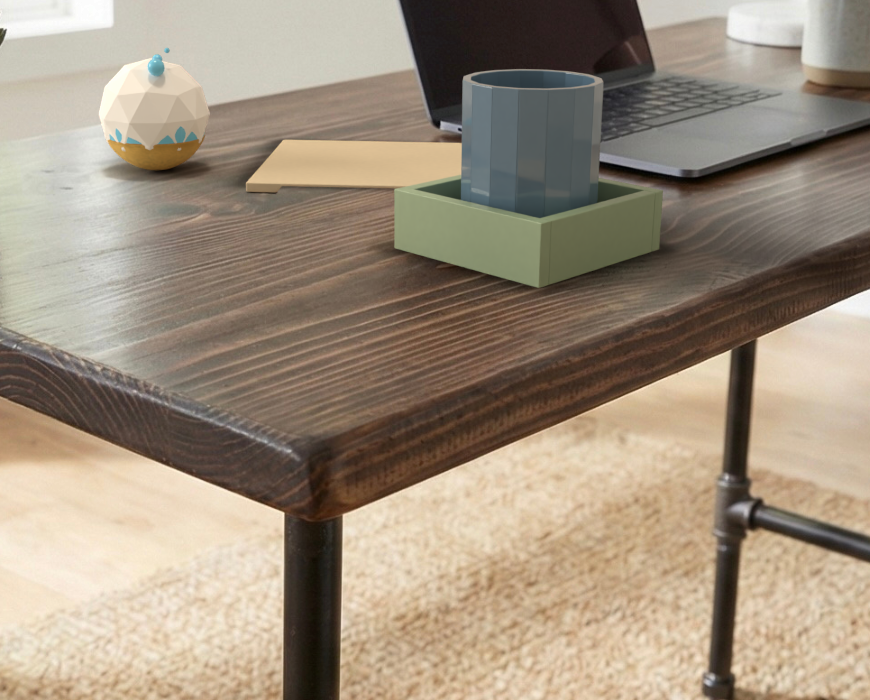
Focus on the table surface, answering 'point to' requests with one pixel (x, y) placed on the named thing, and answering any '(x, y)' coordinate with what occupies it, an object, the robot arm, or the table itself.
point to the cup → (531, 140)
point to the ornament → (154, 114)
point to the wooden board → (355, 164)
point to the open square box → (527, 231)
